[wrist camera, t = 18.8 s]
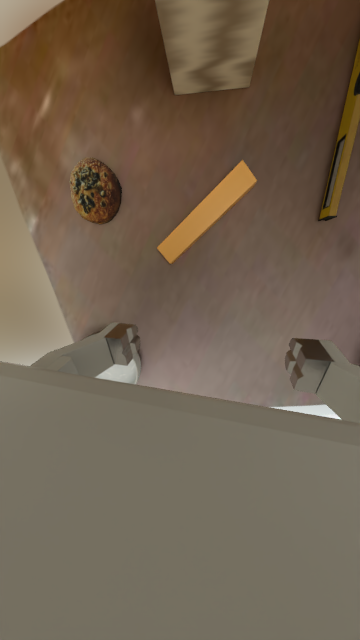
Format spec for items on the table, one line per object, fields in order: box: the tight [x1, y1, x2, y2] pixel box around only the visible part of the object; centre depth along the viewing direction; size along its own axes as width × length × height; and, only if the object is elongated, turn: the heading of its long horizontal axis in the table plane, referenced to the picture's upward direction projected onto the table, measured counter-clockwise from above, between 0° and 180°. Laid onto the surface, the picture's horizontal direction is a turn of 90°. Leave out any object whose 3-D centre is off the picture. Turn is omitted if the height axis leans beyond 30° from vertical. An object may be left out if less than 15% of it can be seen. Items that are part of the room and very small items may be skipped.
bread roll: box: [70, 158, 122, 224], centre depth 35 cm, size 11×11×5 cm
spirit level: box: [318, 40, 360, 221], centre depth 25 cm, size 33×1×3 cm, turn 0°
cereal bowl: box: [83, 333, 141, 385], centre depth 45 cm, size 17×17×7 cm
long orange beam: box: [157, 160, 257, 264], centre depth 34 cm, size 4×20×3 cm, turn 131°
